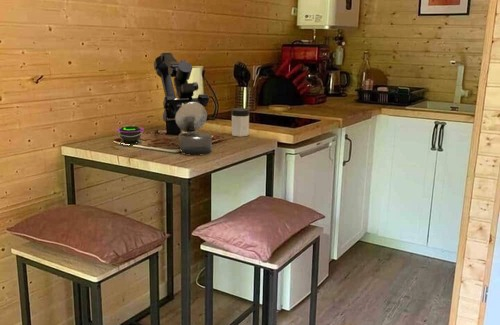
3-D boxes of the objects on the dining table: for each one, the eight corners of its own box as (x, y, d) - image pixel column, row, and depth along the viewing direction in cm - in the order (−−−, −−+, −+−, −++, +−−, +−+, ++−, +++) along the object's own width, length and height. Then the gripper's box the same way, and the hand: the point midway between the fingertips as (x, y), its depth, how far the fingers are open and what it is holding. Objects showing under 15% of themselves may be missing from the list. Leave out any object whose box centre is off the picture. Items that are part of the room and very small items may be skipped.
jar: (236, 137, 230) (236, 111, 226) (227, 134, 236) (227, 108, 233) (252, 135, 234) (253, 110, 231) (243, 132, 241) (243, 107, 238)
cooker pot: (175, 148, 209) (174, 132, 207) (204, 145, 214) (204, 130, 212) (185, 156, 196) (184, 140, 195) (216, 153, 202) (216, 137, 200)
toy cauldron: (113, 151, 203) (111, 124, 200) (112, 142, 217) (110, 117, 214) (150, 149, 207) (149, 123, 204) (147, 140, 221) (146, 116, 218)
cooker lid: (175, 133, 206) (173, 130, 208) (205, 130, 211) (203, 128, 213) (176, 103, 200) (175, 101, 202) (208, 102, 205) (206, 99, 207)
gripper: (163, 76, 203) (171, 107, 197) (207, 75, 211) (216, 104, 204) (159, 93, 212) (167, 123, 206) (201, 91, 220) (210, 120, 213)
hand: (190, 117), depth 207 cm, fingers open, 9 cm apart
